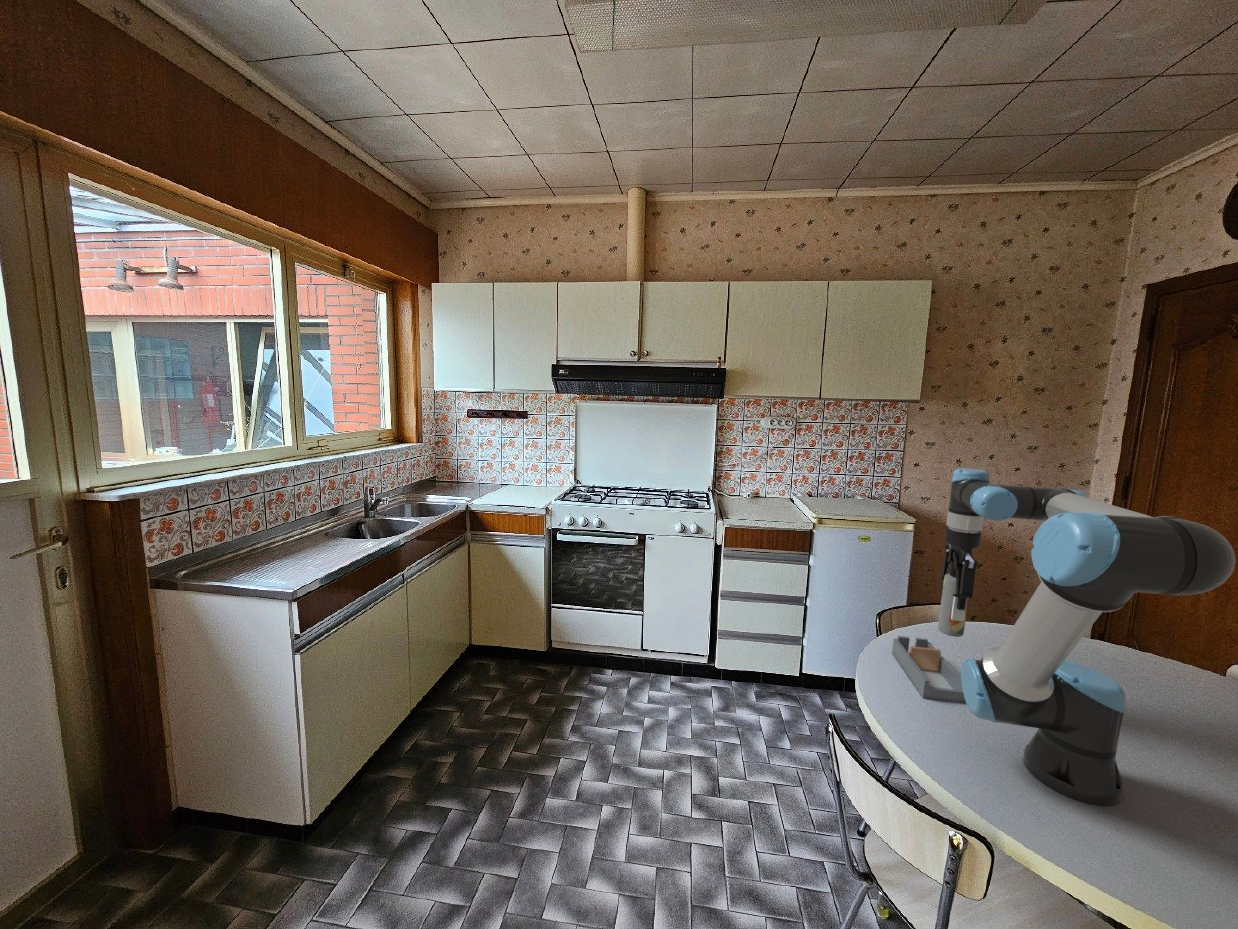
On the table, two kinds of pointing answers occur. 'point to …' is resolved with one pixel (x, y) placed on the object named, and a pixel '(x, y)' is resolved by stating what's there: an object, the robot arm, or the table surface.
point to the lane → (928, 673)
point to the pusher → (926, 657)
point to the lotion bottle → (950, 606)
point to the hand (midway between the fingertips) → (952, 614)
